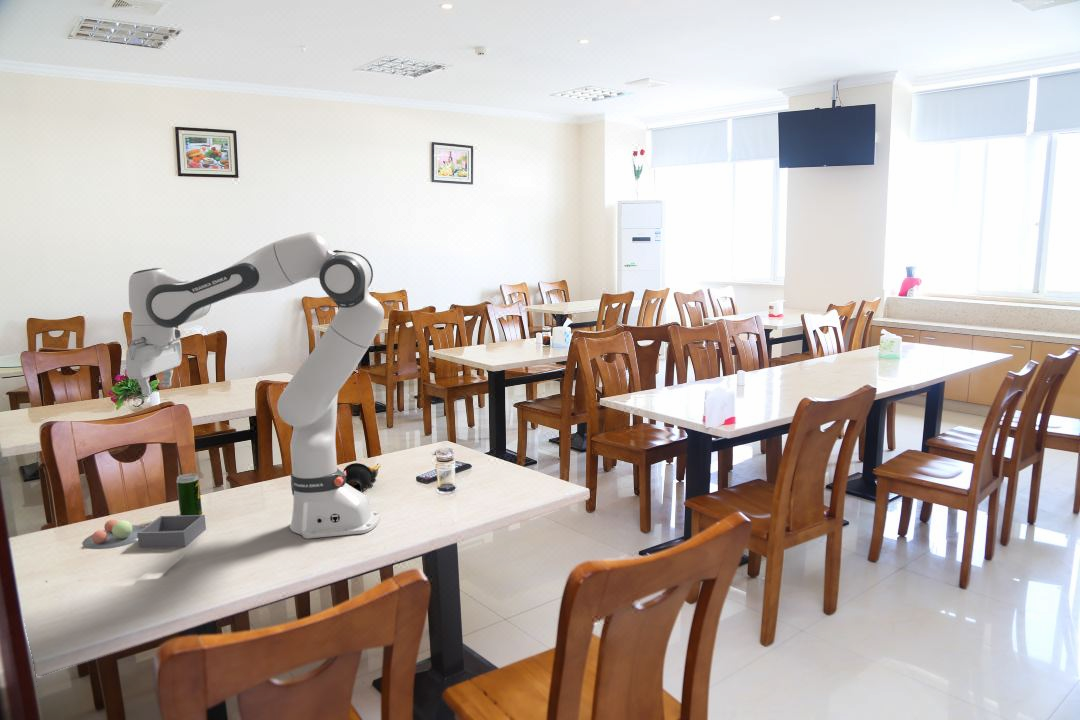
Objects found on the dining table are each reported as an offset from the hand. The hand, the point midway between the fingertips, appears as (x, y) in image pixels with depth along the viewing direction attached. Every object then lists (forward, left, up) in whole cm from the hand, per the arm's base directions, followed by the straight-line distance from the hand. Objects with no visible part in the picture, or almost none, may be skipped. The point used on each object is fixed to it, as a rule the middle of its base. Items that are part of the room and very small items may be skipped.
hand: (157, 390), depth 187 cm
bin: (-4, +7, -37) cm, 38 cm away
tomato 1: (+13, +9, -36) cm, 39 cm away
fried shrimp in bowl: (-42, -34, -37) cm, 66 cm away
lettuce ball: (+9, +6, -36) cm, 38 cm away
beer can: (-1, -9, -37) cm, 38 cm away
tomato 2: (+14, +2, -36) cm, 39 cm away
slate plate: (+11, +5, -37) cm, 39 cm away
